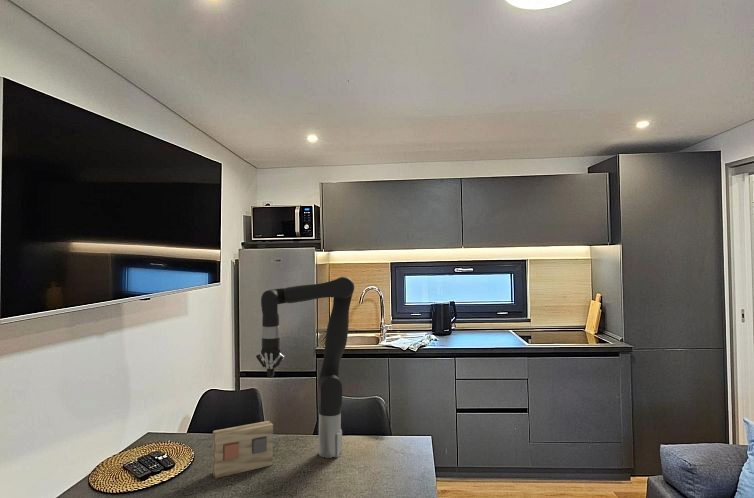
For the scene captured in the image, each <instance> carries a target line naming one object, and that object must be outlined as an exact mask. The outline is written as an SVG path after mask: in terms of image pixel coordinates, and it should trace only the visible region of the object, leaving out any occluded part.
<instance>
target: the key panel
mask: <svg viewBox="0 0 754 498" xmlns="http://www.w3.org/2000/svg"><path fill="white" fill-rule="evenodd" d="M264 436H265V437H266V438H267V451H265V452H261V453H256V454H254V453H253V452H252V439H254V438H259V437H264ZM234 442H237V443H238V444H239V450H238V458H233V459H229V460H224V458H223V445H224V444H229V443H234ZM273 443H274V424H273V423H272V422H271V421H270V420H266V421H260V422H254V423H250V424H249V423H248V424H243V425H239V426H233V427H227V428H223V429H222V428H220V429H216V430H213V431H212V475H213V476H214V478H215V479H218V478H223V477H227V476H232V475H235V474H240V473H245V472H247V471H253V470H257V469H261V468H266V467H270V466H273V465H274V464H273V458H274V455H273V451H274V449H273V448H274V445H273Z"/></svg>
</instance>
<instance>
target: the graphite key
mask: <svg viewBox="0 0 754 498" xmlns="http://www.w3.org/2000/svg"><path fill="white" fill-rule="evenodd" d="M265 451H267V438H266V437H265V436H264V437H259V438H254V439H252V452H253V453H254V454H256V453H261V452H265Z"/></svg>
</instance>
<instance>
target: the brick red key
mask: <svg viewBox="0 0 754 498" xmlns="http://www.w3.org/2000/svg"><path fill="white" fill-rule="evenodd" d="M238 450H239V444H238V443H237V442H234V443H229V444H224V445H223V458H224V460H229V459H233V458H238Z"/></svg>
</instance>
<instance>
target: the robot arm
mask: <svg viewBox="0 0 754 498" xmlns="http://www.w3.org/2000/svg"><path fill="white" fill-rule="evenodd" d="M354 292H355V284H354V281H353V280H352V279H351V278H350V277H348V276H340V277H338V278H336V279H333V280H329V281H326V282H321V283H314V284H313V283H312V284H301V285H300V284H299V285H295V286H288V287H284V288H272V289H268V290H265V291H264V292H262V294H261V297H260V298H261V299H260V305H261V307H260V308H261V313H262V318H261V321H262V324H261V325H262V327H261V350H260V353H258V354H257V355H256V356H255V357H256V359H257V361H258V362H259V363H260V365H261V366H262V368H265V369H266V375H267V377H268V378H270V379H271V378H273V377H274V376H275V369H276V368H278V367H279V366H280V365H281V364H282V362H283V361H284V360H285V358H286V355H285V354H282V353H281V350H280V346H281V343H280V340H281V339H280V338H281V337H280V335H281V331H280V315H279V312H278V309H279V308H278V305H282V304H295V303H302V302H308V301H311V300H317V299H325V298H327V299H328V298H333V300H332V301H333V302H332V307H331V308H332V310H331V312H330V316H329V319H328V323H327V327H326V334H325V341H324V349H323V360H322V361H323V362H322V365H321V369H320V370H321V371H320V374H319V378H318V384H317V386H318V389H319V392H320V404H319V406H318V456H319V457H321V458H324V457H325V458H324V459H333V458H332V457H334V458H338V457H340V455H341V454H342V452H343V430H342V426H341V424H342V423H341V422H342V420H341V419H342V418H341V416H342V413H341V412H342V406H343V383H342V381H341V380H340V378H339V371H340V365H341V363H340V362H341V359H342V357H343V354H344V353H345V349H346V346H347V342H348V336H349V323H350V322H349V321H350V320H349V319H350V306H351V302H352V297H353V295H354ZM340 453H341V454H340Z"/></svg>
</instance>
